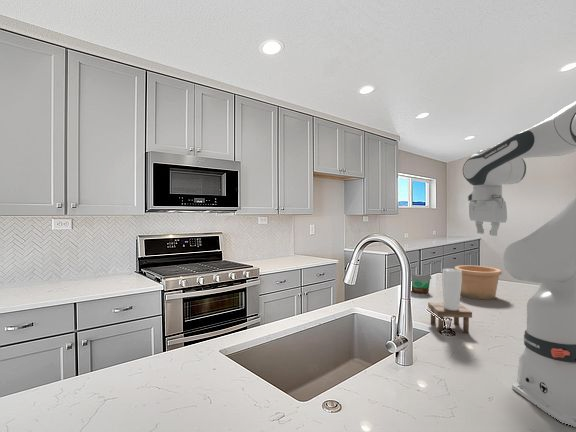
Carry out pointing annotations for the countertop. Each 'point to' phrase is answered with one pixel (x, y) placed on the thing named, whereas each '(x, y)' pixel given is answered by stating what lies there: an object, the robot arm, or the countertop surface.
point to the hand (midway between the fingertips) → (486, 234)
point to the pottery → (479, 281)
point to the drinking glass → (451, 288)
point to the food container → (420, 284)
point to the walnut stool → (450, 315)
